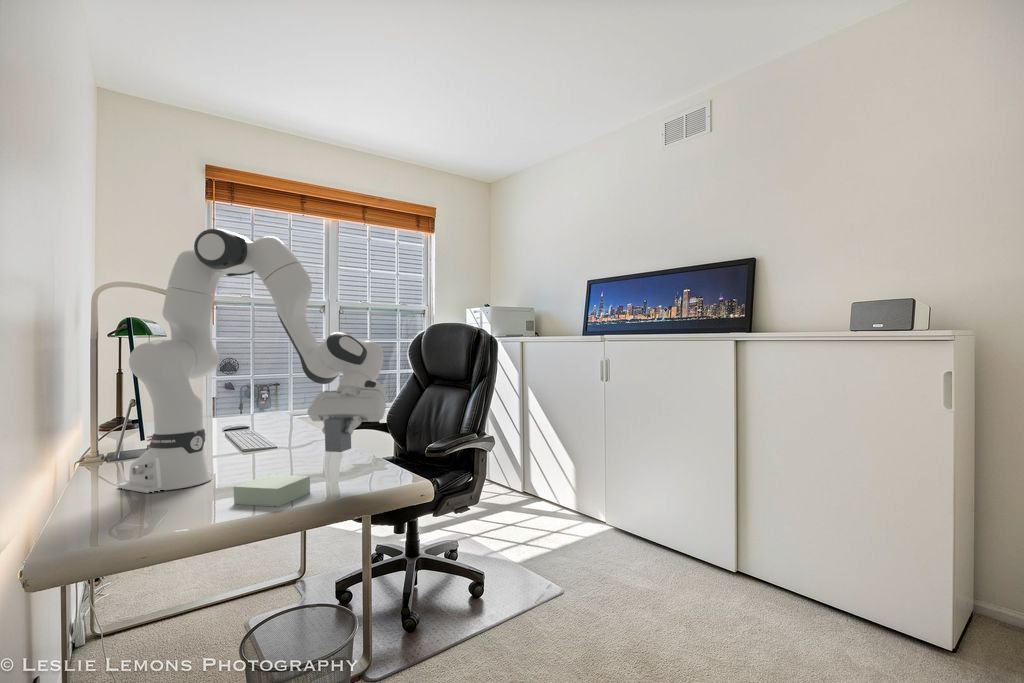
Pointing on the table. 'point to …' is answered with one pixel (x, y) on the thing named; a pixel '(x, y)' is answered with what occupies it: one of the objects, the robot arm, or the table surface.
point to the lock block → (337, 434)
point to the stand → (271, 490)
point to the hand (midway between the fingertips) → (336, 432)
